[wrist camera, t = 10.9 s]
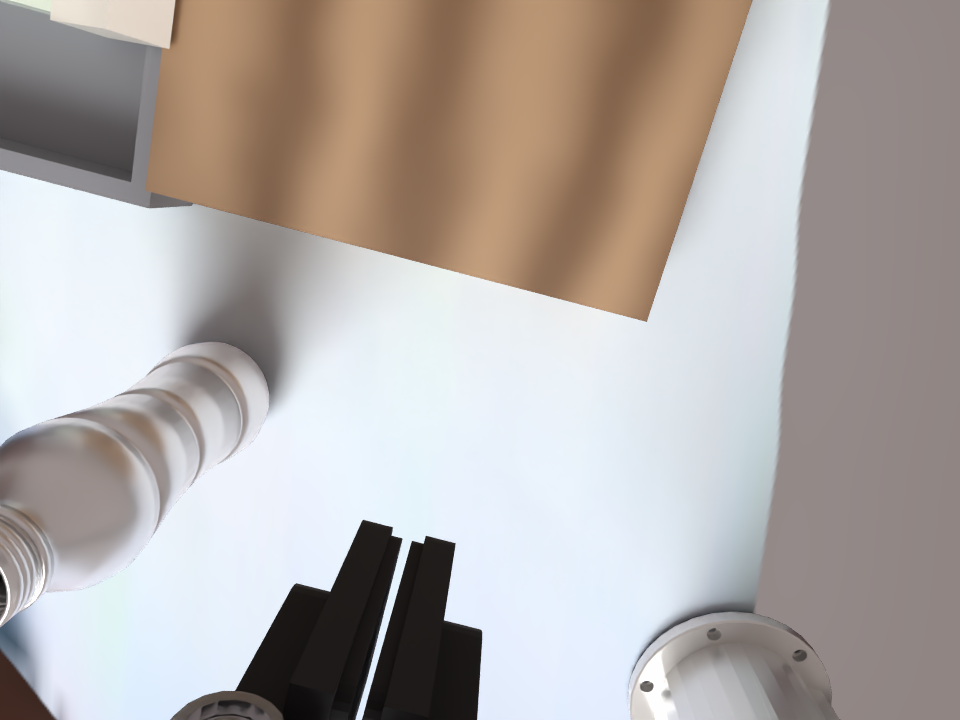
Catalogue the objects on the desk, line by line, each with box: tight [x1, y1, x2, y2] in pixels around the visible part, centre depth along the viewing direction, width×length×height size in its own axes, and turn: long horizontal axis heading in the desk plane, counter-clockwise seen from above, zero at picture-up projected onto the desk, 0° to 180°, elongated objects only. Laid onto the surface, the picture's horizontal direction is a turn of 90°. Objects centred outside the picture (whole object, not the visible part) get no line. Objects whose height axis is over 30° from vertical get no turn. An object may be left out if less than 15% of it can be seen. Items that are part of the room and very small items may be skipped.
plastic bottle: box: [0, 342, 269, 627], centre depth 30 cm, size 6×7×20 cm
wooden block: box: [145, 0, 752, 322], centre depth 31 cm, size 24×20×6 cm
